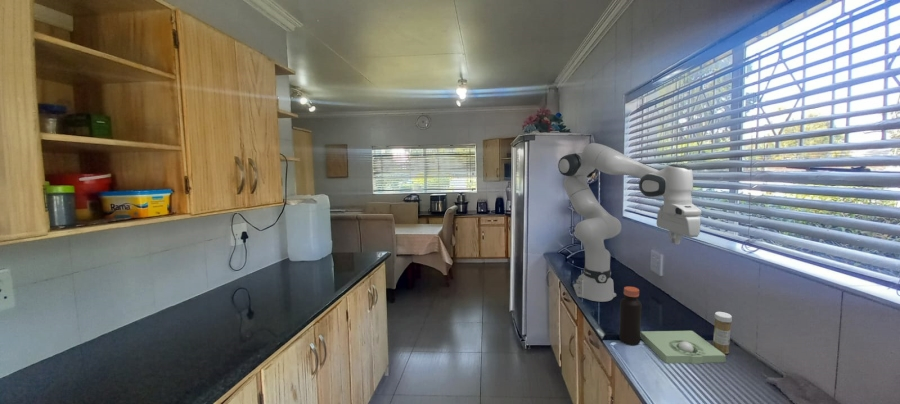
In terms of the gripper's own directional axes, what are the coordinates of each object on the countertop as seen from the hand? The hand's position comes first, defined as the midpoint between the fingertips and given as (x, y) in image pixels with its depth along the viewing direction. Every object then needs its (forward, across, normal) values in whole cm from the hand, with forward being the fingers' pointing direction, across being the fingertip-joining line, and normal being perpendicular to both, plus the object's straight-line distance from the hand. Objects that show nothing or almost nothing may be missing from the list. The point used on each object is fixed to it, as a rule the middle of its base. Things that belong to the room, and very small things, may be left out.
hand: (675, 243), depth 129 cm
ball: (+32, +18, -6) cm, 37 cm away
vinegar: (+34, +9, -20) cm, 41 cm away
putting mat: (+34, +15, -6) cm, 38 cm away
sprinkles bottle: (+34, +16, +7) cm, 39 cm away
